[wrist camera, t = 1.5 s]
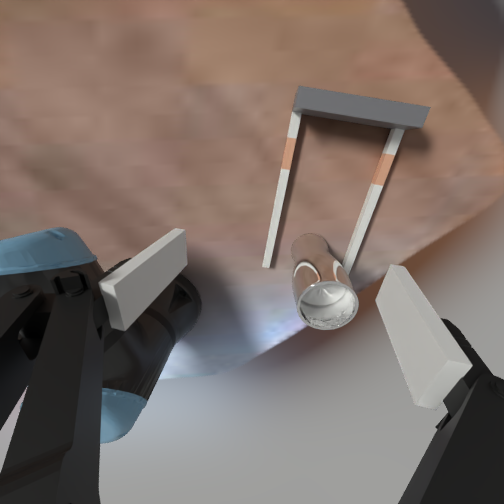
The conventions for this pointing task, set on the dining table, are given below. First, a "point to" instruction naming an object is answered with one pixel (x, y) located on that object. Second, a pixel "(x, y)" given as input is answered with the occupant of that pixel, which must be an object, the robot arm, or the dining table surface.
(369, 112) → the guide track
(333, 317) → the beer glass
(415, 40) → the dining table surface
